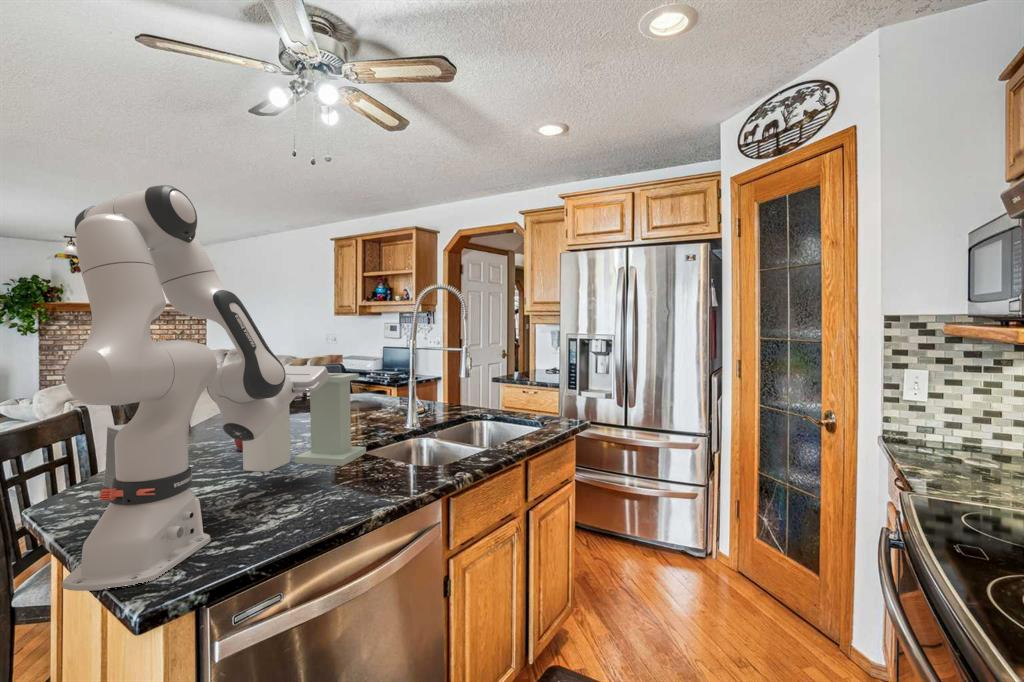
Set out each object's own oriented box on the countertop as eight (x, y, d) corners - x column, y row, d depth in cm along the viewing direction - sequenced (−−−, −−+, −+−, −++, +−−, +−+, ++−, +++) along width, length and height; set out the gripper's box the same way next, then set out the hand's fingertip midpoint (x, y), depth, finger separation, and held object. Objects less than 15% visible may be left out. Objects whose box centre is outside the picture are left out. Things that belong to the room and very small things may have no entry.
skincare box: (104, 488, 124) (101, 427, 123) (136, 480, 130) (134, 421, 129) (120, 493, 120) (118, 430, 119) (153, 484, 126) (151, 424, 125)
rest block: (268, 471, 137) (266, 408, 136) (243, 470, 138) (241, 408, 137) (290, 461, 146) (289, 402, 146) (267, 460, 148) (265, 402, 147)
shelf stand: (343, 465, 142) (341, 378, 141) (294, 463, 145) (292, 377, 144) (366, 453, 156) (364, 373, 155) (321, 450, 159) (319, 372, 158)
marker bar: (302, 368, 131) (302, 359, 131) (289, 367, 132) (289, 359, 132) (342, 362, 151) (342, 354, 151) (331, 362, 152) (331, 354, 152)
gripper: (308, 382, 120) (335, 351, 132) (238, 380, 125) (270, 351, 136) (317, 401, 124) (342, 370, 135) (248, 399, 128) (278, 369, 139)
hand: (305, 360), depth 136 cm, fingers closed on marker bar, 2 cm apart
